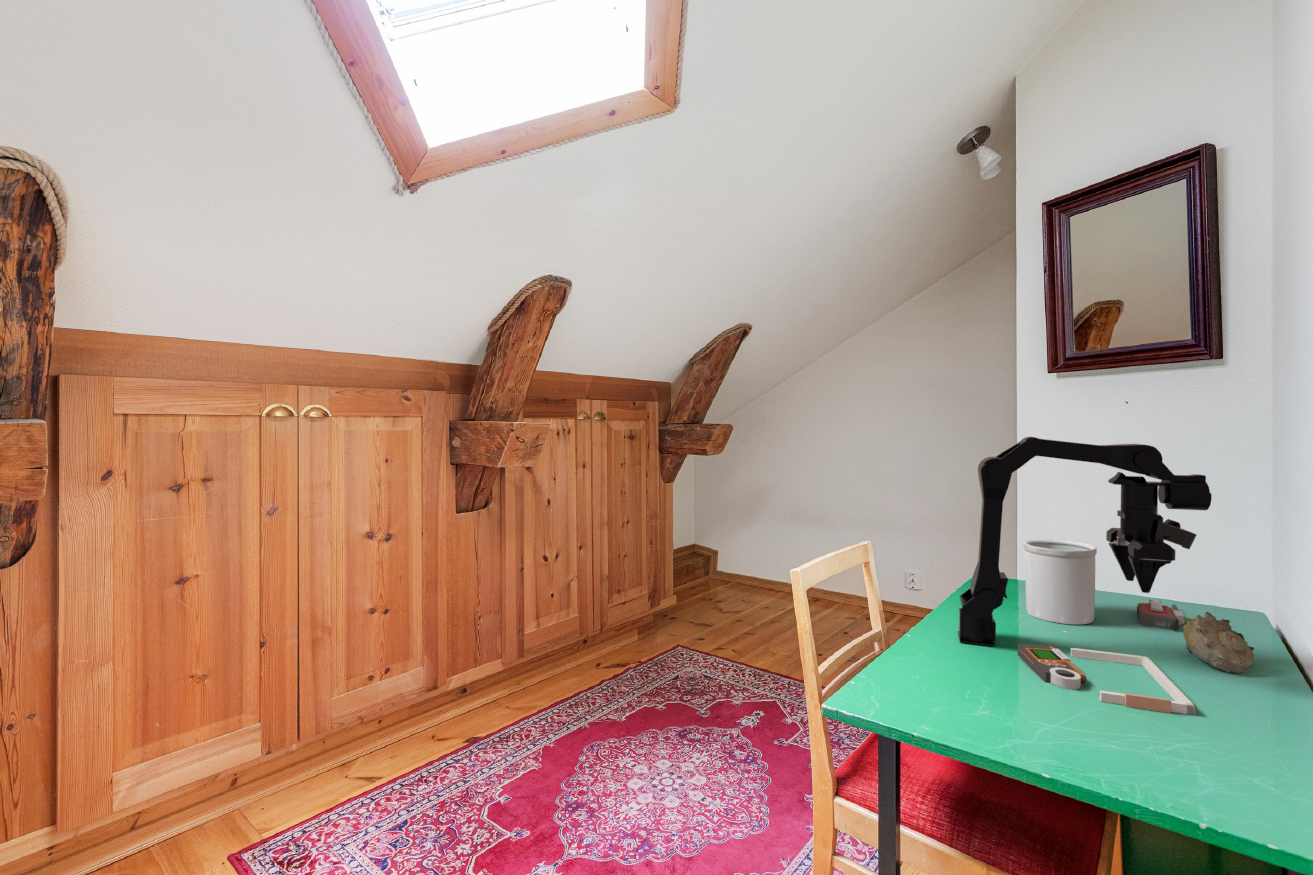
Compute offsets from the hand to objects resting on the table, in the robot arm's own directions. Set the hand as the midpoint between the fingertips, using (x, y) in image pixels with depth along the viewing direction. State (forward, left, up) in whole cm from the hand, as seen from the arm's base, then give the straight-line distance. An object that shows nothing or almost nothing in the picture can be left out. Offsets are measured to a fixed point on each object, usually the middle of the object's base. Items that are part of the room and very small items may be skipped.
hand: (1137, 586), depth 120 cm
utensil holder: (-8, +26, -15) cm, 31 cm away
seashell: (+14, +4, -15) cm, 21 cm away
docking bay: (-5, -13, -15) cm, 20 cm away
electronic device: (-17, -13, -15) cm, 26 cm away
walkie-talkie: (+14, +33, -15) cm, 39 cm away
